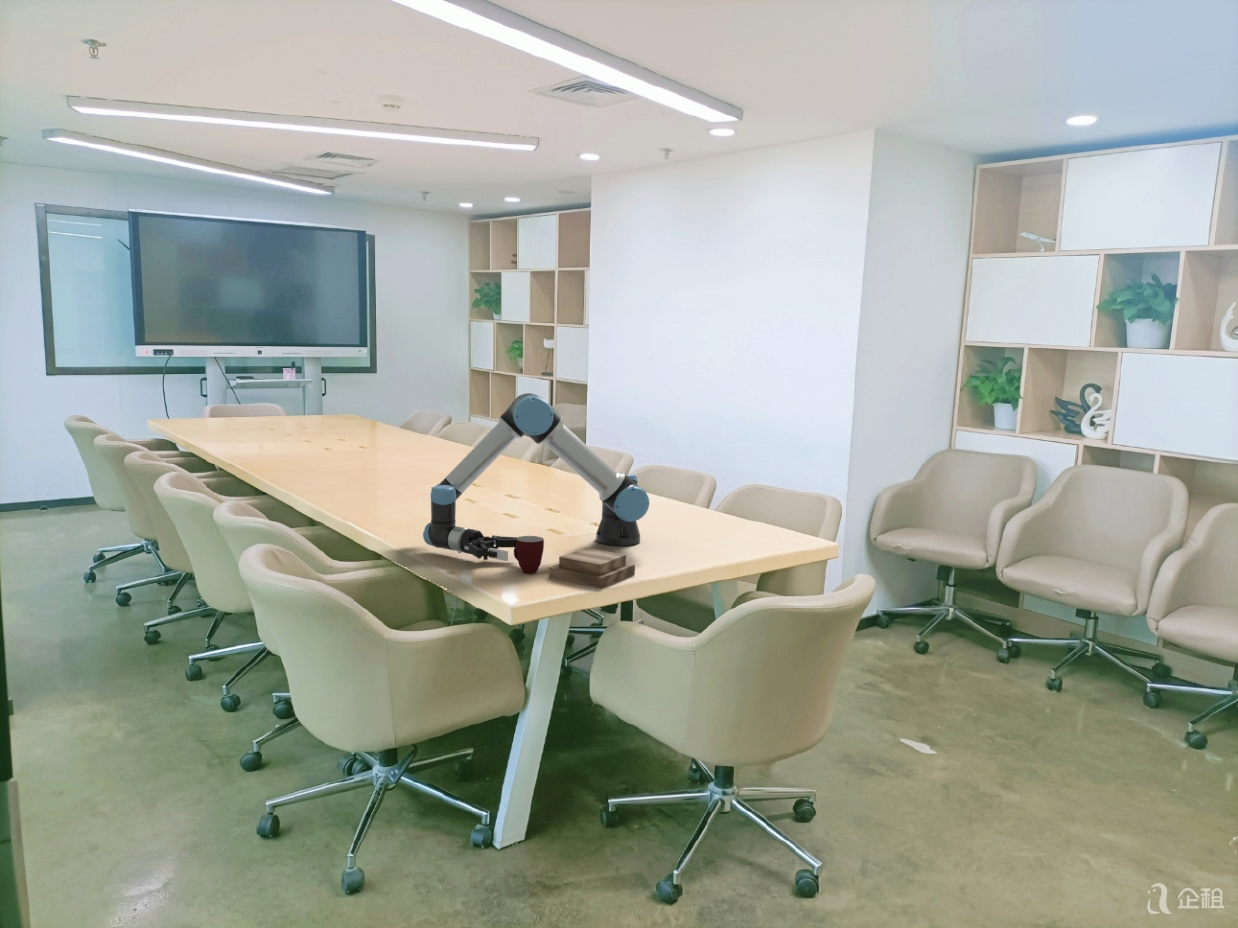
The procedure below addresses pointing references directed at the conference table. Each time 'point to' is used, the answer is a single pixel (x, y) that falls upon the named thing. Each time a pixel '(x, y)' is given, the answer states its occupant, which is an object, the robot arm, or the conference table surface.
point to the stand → (592, 568)
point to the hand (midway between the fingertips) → (521, 551)
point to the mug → (529, 553)
